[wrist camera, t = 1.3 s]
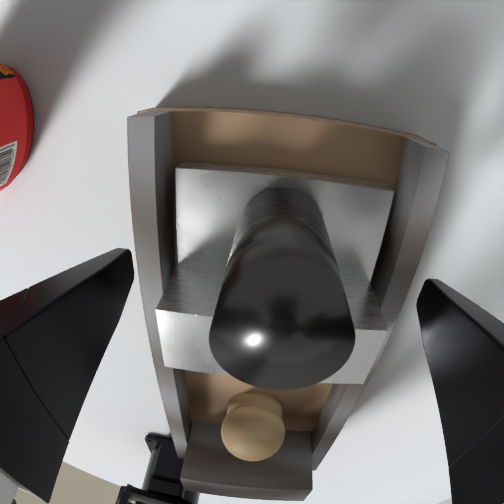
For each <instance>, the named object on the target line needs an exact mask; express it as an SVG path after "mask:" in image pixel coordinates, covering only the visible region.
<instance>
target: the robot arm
mask: <svg viewBox="0 0 504 504" xmlns="http://www.w3.org/2000/svg"><path fill="white" fill-rule="evenodd" d="M133 280H134V268H133V261H132V254H131V251H130V250H129V249H123V248H116V249H114V250H112V251H109V252H107V253H104V254H102V255H100V256H97V257H95V258H93V259H91V260H88V261H86V262H84V263H81V264H79V265H77V266H75V267H72V268H70V269H68V270H66V271H63V272H61V273H59V274H57V275H55V276H52V277H50V278H48V279H46V280H44V281H41V282H39V283H37V284H35V285H33V286H31V287H29V289H28V288H26V289H24V290H22V291H20V292H18V293H16V294H14V295H11V296H9V297H7V298H5V299H3V300H0V504H16V501H15V499H14V496H15V494H16V491H17V489H18V488H19V489H21V490H23V491H25V492H26V493H28V494H30V495H32V496H34V497H36V498H38V499H40V500H42V501H43V502H46V503H49V501H50V498H51V495H52V491H53V488H54V485H55V482H56V479H57V475H58V472H59V469H60V466H61V463H62V460H63V457H64V455H65V452H66V449H67V446H68V443H69V439H70V437H71V434H72V432H73V429H74V426H75V424H76V421H77V418H78V416H79V413H80V411H81V408H82V405H83V403H84V400H85V398H86V395H87V393H88V390H89V388H90V386H91V383H92V381H93V378H94V376H95V374H96V371H97V369H98V367H99V364H100V362H101V360H102V358H103V355H104V353H105V351H106V349H107V346H108V344H109V342H110V340H111V337H112V335H113V333H114V331H115V329H116V327H117V324H118V322H119V320H120V317H121V314H122V312H123V309H124V306H125V303H126V300H127V297H128V294H129V291H130V289H131V286H132V283H133ZM416 307H417V312H418V318H419V323H420V328H421V334H422V340H423V345H424V349H425V353H426V357H427V361H428V365H429V369H430V373H431V377H432V381H433V385H434V390H435V394H436V399H437V403H438V408H439V413H440V418H441V423H442V429H443V434H444V440H445V446H446V453H447V460H448V467H449V476H450V485H451V496H452V504H504V323H503V322H501V321H500V320H498V319H497V318H496V317H494V316H493V315H491V314H490V313H488V312H487V311H485V310H484V309H482V308H481V307H479V306H478V305H477V304H475V303H474V302H472V301H471V300H469V299H468V298H466V297H465V296H463V295H462V294H460V293H458V292H457V291H455V290H454V289H452V288H451V287H449V286H448V285H446V284H445V283H443V282H441V281H440V280H438V279H427V280H426V281H425V282H424V284H423V287H422V289H421V292H420V294H419V297H418V299H417V304H416ZM145 441H146V443H147V445H148V448H149V450H150V452H151V457H150V461H149V464H148V468H147V472H146V475H145V479H144V482H143V486H142V489H138V488H135V487H133V486H132V485H129V484H128V485H127V486H121V488H120V491H119V495H118V498H117V501H116V503H115V504H133V503H131V500H133V501H136V503H135V504H198V500H199V495H200V493H199V492H193V491H188V490H184V487H183V485H182V482H181V479H180V475H181V471H182V466H183V461H184V459H183V458H178V456H177V452H176V449H175V446H174V442H173V440H169V439H164V438H159V437H155V436H150V435H146V437H145Z"/></svg>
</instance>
